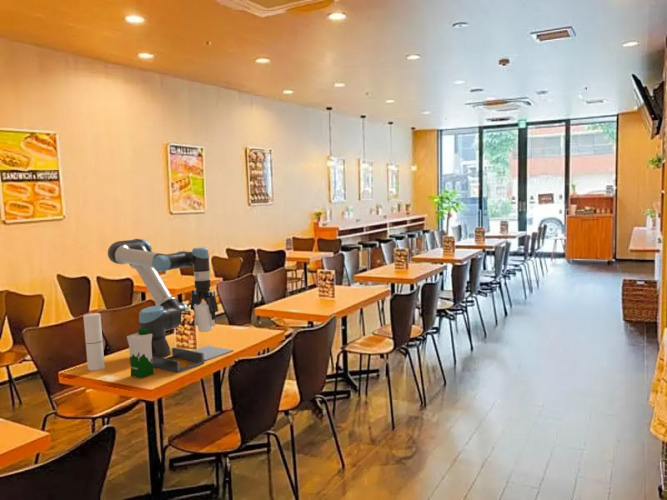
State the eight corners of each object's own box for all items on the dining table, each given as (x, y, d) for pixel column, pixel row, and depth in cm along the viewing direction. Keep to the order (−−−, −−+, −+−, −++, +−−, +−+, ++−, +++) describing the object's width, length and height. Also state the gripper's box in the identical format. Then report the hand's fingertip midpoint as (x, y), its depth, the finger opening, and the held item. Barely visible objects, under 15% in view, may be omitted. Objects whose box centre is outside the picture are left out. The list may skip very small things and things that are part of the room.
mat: (180, 355, 277) (180, 354, 277) (207, 346, 292) (207, 345, 292) (206, 360, 267) (205, 359, 267) (233, 351, 282) (233, 350, 282)
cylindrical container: (94, 371, 258) (90, 317, 255) (84, 369, 261) (79, 315, 259) (108, 366, 264) (103, 313, 261) (97, 365, 267) (93, 312, 265)
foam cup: (194, 329, 281) (192, 303, 279) (212, 327, 285) (211, 301, 283) (198, 333, 272) (196, 306, 271) (217, 330, 276) (215, 304, 275)
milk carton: (157, 373, 251) (154, 329, 249) (140, 379, 244) (136, 333, 242) (144, 370, 256) (141, 327, 254) (127, 376, 248) (123, 331, 246)
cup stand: (147, 366, 262) (147, 355, 262) (174, 357, 275) (173, 347, 274) (177, 373, 251) (176, 361, 250) (204, 363, 263) (203, 352, 263)
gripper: (180, 279, 279) (184, 324, 281) (212, 282, 266) (215, 329, 269) (192, 277, 285) (195, 321, 287) (224, 279, 273) (227, 325, 275)
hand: (205, 325), depth 278 cm, fingers closed on foam cup, 9 cm apart
